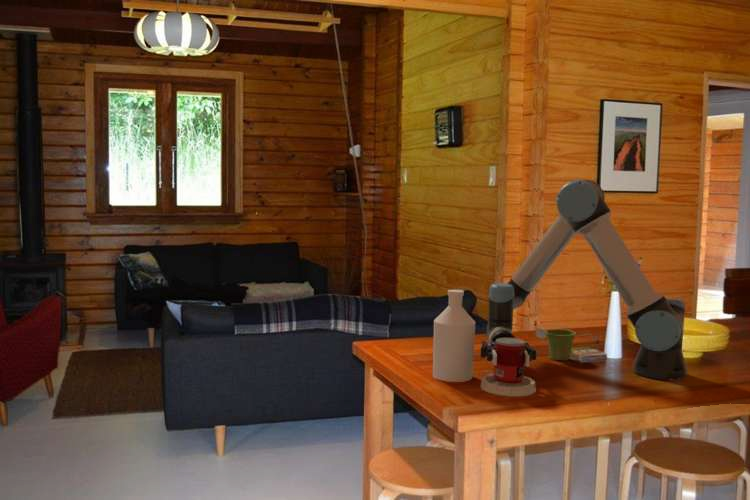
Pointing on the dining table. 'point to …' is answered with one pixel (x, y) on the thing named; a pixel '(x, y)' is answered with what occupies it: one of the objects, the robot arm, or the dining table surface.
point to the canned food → (509, 360)
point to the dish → (508, 387)
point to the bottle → (453, 342)
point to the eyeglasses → (542, 334)
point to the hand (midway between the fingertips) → (511, 361)
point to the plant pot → (560, 343)
